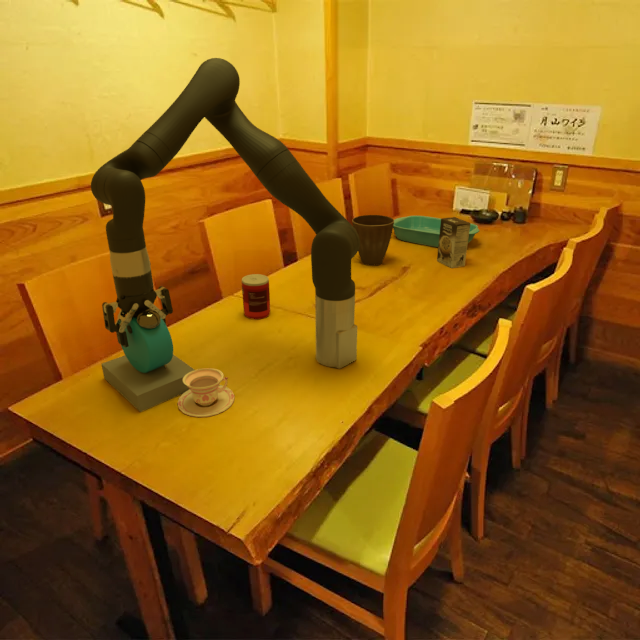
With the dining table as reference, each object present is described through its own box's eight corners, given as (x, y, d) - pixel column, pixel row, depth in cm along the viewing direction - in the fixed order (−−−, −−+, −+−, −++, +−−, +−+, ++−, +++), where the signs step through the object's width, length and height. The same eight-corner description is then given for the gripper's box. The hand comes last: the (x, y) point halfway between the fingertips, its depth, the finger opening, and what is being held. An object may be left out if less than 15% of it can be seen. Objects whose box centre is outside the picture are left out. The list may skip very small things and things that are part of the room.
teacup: (177, 422, 105) (174, 396, 102) (177, 390, 115) (174, 366, 113) (237, 413, 107) (235, 388, 105) (232, 383, 118) (229, 359, 115)
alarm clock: (177, 372, 114) (169, 310, 108) (153, 383, 110) (142, 319, 104) (146, 352, 122) (136, 294, 116) (121, 362, 118) (110, 302, 112)
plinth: (198, 386, 116) (197, 371, 114) (140, 412, 108) (137, 395, 106) (160, 357, 128) (157, 343, 126) (104, 378, 119) (101, 363, 118)
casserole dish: (381, 239, 219) (382, 222, 215) (406, 227, 235) (407, 212, 232) (464, 255, 199) (466, 237, 196) (485, 242, 215) (488, 225, 212)
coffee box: (436, 261, 193) (440, 218, 186) (450, 258, 195) (454, 216, 188) (451, 268, 185) (456, 224, 178) (465, 266, 188) (471, 222, 181)
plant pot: (369, 272, 182) (371, 227, 175) (343, 261, 193) (343, 218, 186) (400, 263, 190) (403, 220, 183) (373, 253, 201) (374, 212, 194)
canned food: (257, 306, 156) (255, 272, 151) (276, 313, 151) (274, 278, 147) (238, 314, 151) (235, 279, 146) (257, 322, 146) (255, 285, 141)
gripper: (154, 257, 113) (165, 324, 120) (89, 273, 104) (104, 344, 111) (172, 265, 108) (181, 334, 115) (105, 283, 99) (119, 356, 106)
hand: (143, 339), depth 113 cm, fingers open, 8 cm apart
